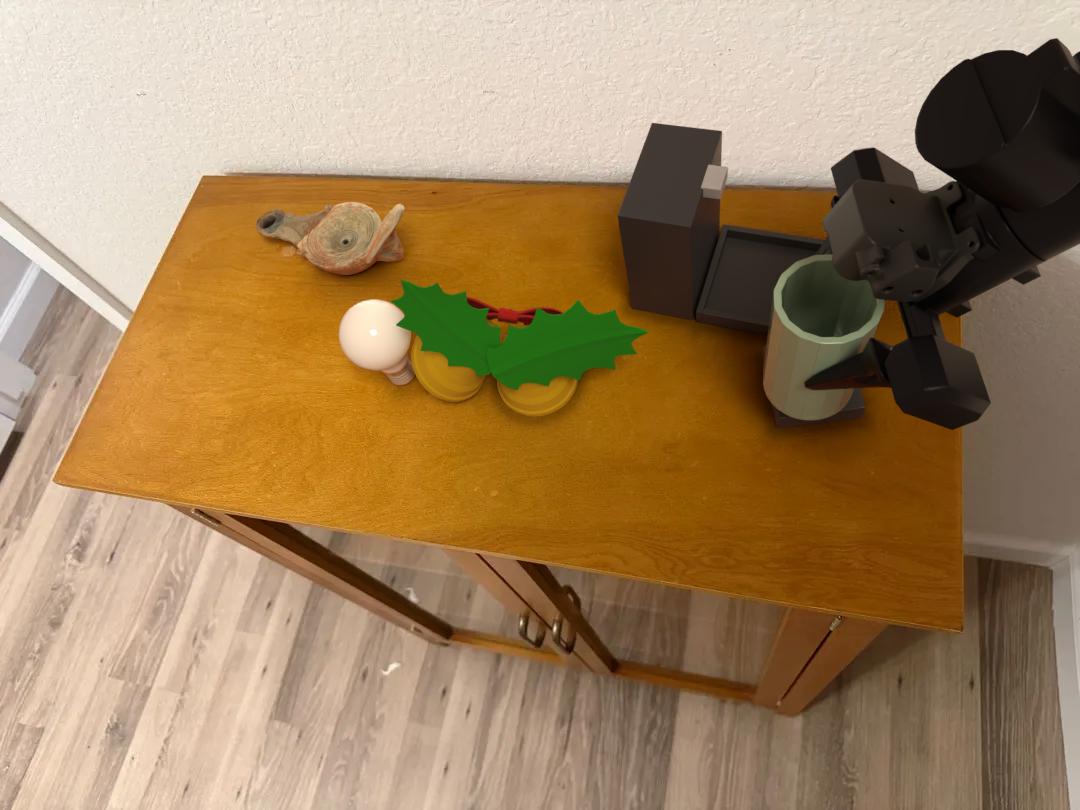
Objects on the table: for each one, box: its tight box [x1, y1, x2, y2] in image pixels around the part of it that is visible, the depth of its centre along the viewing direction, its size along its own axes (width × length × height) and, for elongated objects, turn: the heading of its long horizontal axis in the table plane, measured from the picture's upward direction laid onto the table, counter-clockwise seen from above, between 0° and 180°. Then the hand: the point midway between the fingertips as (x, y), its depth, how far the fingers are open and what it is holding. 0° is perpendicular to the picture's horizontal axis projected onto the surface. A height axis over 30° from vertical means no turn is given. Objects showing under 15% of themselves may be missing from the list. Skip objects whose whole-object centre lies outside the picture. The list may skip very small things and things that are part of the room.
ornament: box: [390, 279, 650, 418], centre depth 68 cm, size 21×8×15 cm, turn 84°
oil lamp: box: [255, 201, 406, 276], centre depth 80 cm, size 9×21×10 cm, turn 69°
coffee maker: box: [617, 122, 825, 337], centre depth 67 cm, size 16×10×14 cm, turn 70°
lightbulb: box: [338, 298, 416, 386], centre depth 71 cm, size 6×6×11 cm
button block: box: [761, 346, 867, 430], centre depth 66 cm, size 7×7×4 cm
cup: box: [762, 254, 886, 420], centre depth 55 cm, size 7×7×12 cm
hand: (798, 341), depth 55 cm, fingers closed on cup, 7 cm apart
